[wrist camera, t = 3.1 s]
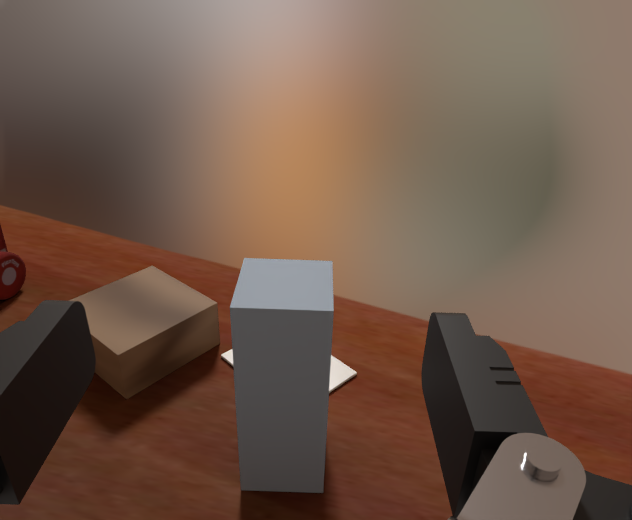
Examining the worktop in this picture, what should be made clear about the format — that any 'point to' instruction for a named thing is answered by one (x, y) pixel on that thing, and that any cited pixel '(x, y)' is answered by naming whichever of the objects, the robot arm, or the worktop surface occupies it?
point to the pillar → (282, 372)
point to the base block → (147, 328)
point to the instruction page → (337, 370)
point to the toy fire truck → (10, 271)
